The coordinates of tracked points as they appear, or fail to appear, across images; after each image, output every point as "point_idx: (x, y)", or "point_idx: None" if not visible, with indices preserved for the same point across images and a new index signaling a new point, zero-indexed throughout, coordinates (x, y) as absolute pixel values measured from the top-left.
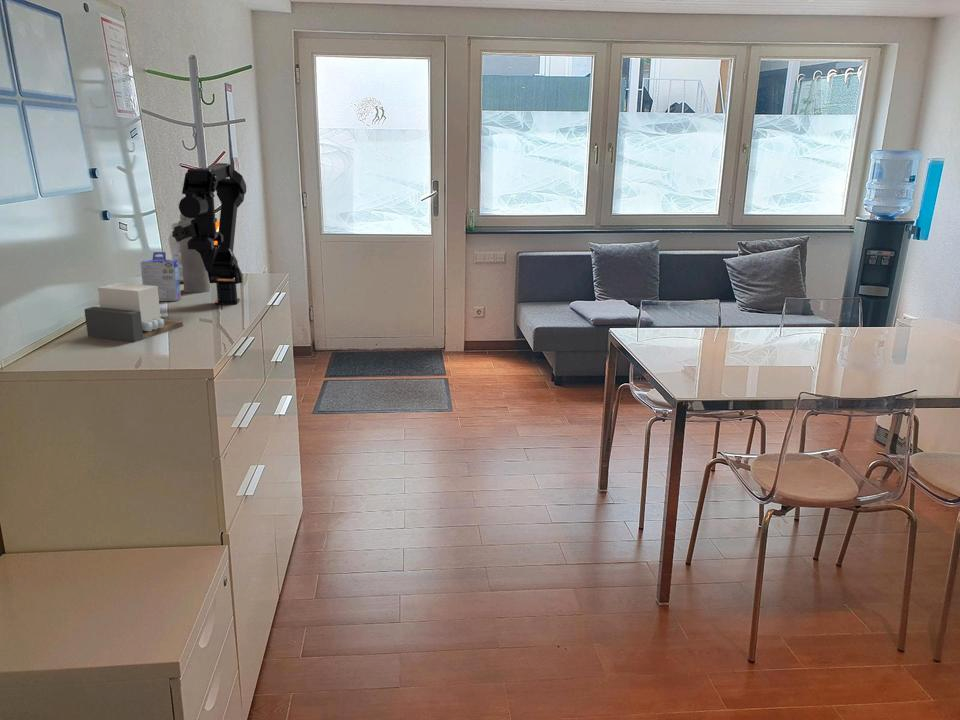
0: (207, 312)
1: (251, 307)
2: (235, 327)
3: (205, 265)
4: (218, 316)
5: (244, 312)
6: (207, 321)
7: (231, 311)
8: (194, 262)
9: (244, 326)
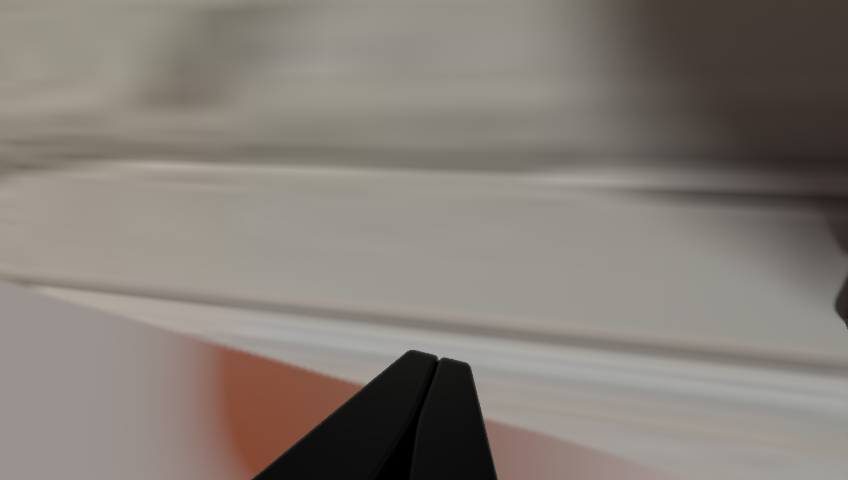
0: (545, 62)
1: (657, 403)
2: (39, 243)
3: (335, 430)
4: (357, 155)
5: (476, 338)
6: (183, 70)
7: (537, 259)
8: None
9: (71, 291)
